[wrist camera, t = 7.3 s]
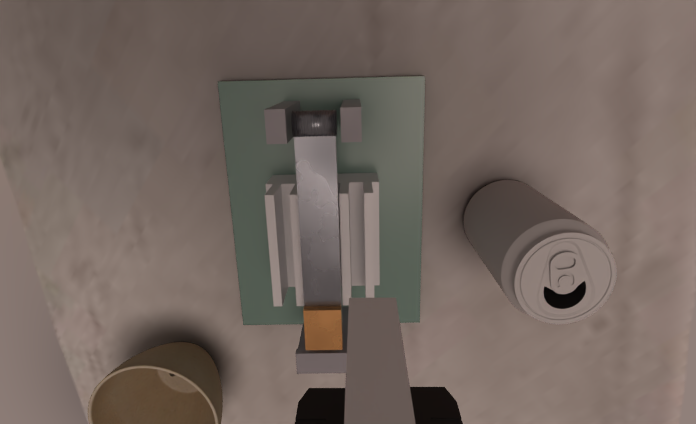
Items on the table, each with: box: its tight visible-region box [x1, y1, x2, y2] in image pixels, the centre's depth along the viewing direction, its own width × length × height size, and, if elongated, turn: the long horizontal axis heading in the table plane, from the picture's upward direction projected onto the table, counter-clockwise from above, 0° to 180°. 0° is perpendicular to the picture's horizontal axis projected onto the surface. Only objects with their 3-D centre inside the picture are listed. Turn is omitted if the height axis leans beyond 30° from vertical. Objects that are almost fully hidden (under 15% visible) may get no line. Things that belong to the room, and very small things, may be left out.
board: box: [218, 76, 425, 374], centre depth 33 cm, size 20×15×8 cm
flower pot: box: [88, 342, 223, 424], centre depth 38 cm, size 10×10×7 cm
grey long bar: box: [291, 110, 343, 350], centre depth 29 cm, size 16×3×2 cm, turn 2°
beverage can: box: [464, 180, 617, 324], centre depth 31 cm, size 6×6×12 cm
